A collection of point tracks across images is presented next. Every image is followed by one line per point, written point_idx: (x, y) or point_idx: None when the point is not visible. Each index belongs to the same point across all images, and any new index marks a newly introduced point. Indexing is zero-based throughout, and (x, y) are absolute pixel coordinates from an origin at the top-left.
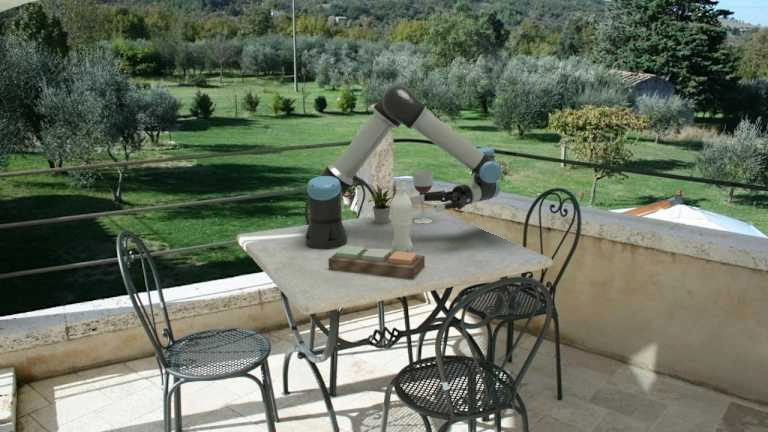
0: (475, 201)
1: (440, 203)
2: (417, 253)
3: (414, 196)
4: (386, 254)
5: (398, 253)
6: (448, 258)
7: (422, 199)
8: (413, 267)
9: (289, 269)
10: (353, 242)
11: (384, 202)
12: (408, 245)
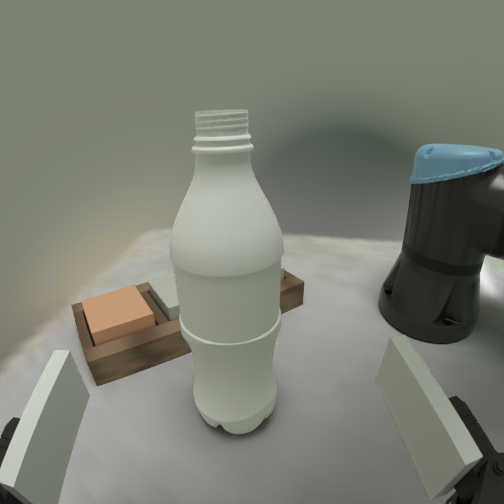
0: None
1: (48, 376)
2: (91, 332)
3: (428, 371)
4: (155, 291)
5: (135, 308)
6: (73, 472)
7: (434, 467)
8: (72, 307)
9: (292, 245)
10: None
11: None
12: (193, 386)
